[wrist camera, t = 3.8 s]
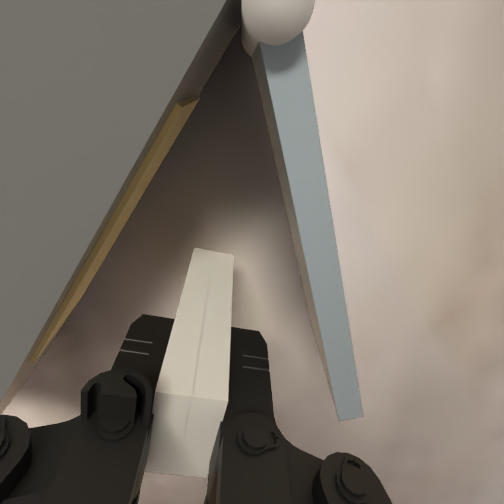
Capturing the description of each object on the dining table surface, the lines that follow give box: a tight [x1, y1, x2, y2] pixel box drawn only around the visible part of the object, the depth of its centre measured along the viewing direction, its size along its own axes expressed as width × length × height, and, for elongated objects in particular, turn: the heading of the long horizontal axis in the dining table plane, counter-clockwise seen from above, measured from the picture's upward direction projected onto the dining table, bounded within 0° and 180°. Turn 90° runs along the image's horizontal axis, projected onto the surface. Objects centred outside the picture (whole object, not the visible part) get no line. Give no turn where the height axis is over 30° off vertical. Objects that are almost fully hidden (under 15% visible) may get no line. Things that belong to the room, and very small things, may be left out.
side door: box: [241, 0, 363, 421], centre depth 11 cm, size 12×1×6 cm, turn 14°
